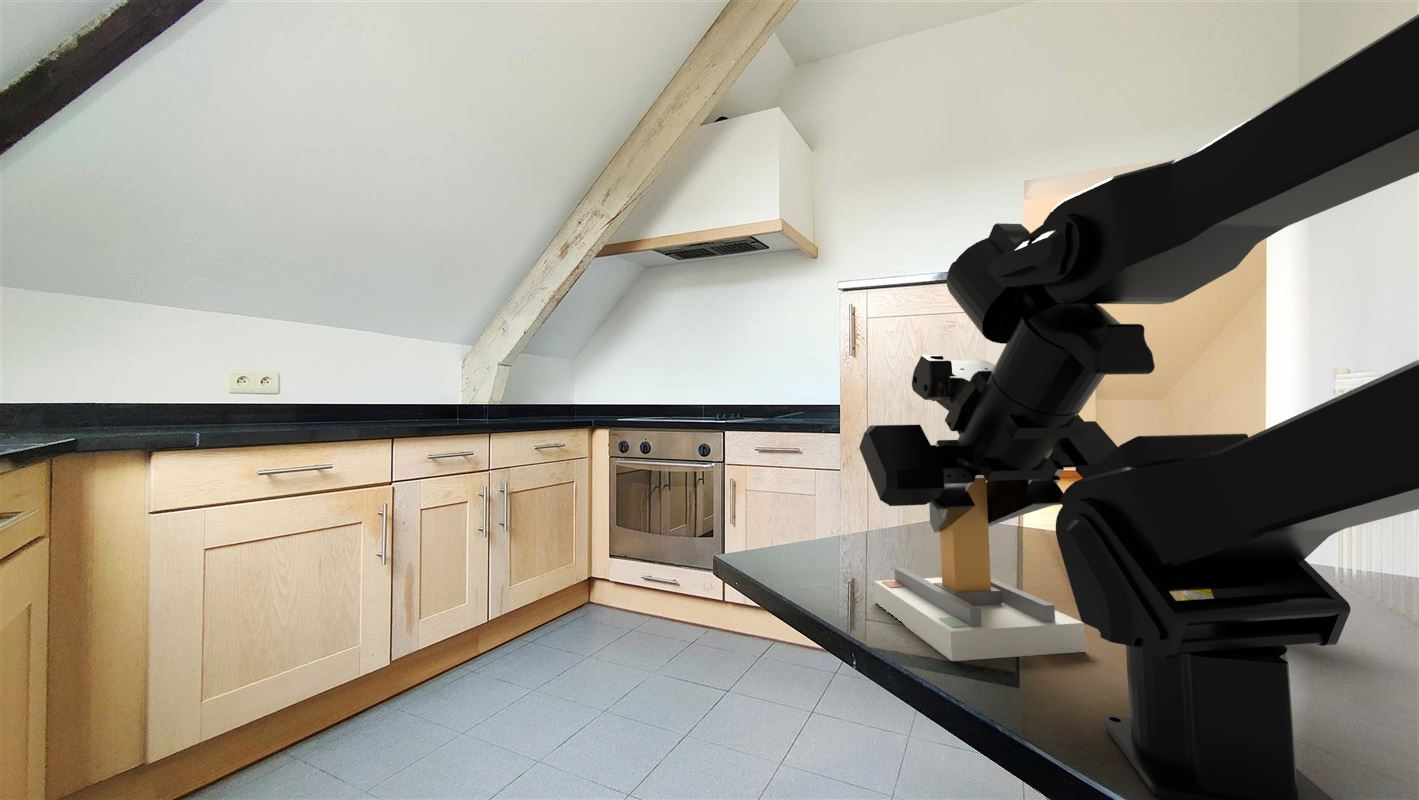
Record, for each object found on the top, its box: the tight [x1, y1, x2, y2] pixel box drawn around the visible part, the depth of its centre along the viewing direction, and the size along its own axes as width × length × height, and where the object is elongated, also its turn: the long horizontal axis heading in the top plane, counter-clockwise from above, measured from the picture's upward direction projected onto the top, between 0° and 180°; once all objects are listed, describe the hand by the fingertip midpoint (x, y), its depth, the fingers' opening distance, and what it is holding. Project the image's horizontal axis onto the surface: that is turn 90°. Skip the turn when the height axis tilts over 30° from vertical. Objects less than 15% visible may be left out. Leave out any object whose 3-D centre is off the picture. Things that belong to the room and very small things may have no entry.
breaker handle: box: [933, 478, 1001, 605], centre depth 46 cm, size 3×4×12 cm
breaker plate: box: [873, 567, 1086, 662], centre depth 45 cm, size 13×10×3 cm
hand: (953, 526), depth 47 cm, fingers closed on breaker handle, 3 cm apart
